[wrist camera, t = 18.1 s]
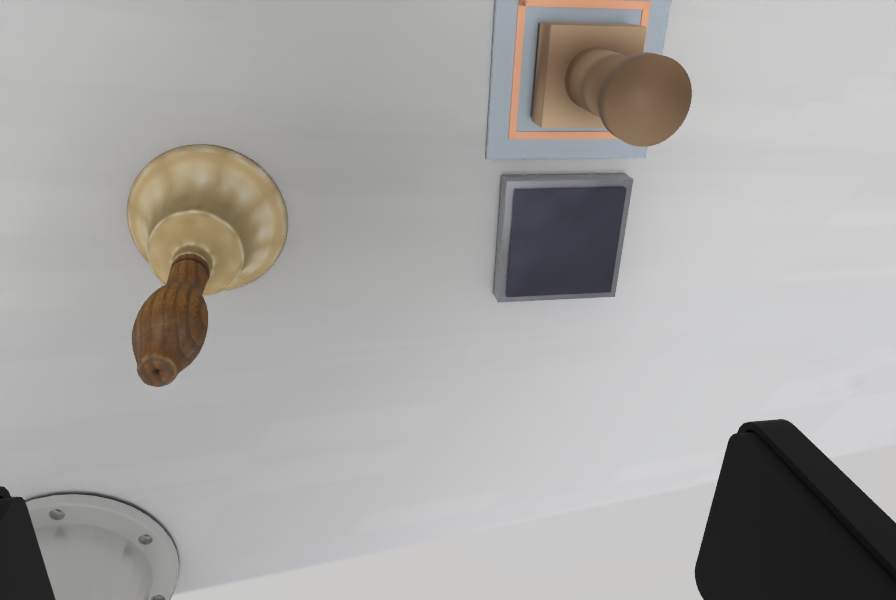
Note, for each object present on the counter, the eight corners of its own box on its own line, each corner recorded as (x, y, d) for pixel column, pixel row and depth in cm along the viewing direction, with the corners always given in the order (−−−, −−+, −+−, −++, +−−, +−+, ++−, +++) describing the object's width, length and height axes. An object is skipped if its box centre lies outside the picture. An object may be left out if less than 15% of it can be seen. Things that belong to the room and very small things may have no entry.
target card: (643, 156, 40) (646, 158, 40) (485, 158, 39) (487, 160, 38) (671, -23, 36) (675, -22, 36) (496, -29, 35) (498, -29, 34)
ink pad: (607, 288, 44) (616, 298, 43) (493, 293, 43) (499, 304, 41) (624, 173, 41) (635, 180, 39) (501, 175, 39) (508, 182, 38)
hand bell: (177, 111, 35) (88, 214, 21) (316, 201, 38) (321, 343, 24) (99, 238, 37) (-31, 410, 23) (237, 313, 40) (198, 504, 26)
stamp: (614, 118, 39) (692, 159, 31) (528, 118, 38) (586, 161, 30) (627, 23, 37) (715, 40, 29) (537, 20, 36) (601, 38, 28)
